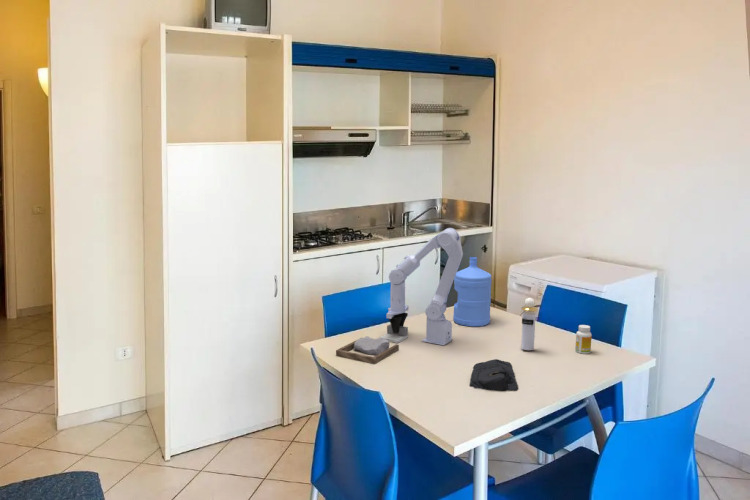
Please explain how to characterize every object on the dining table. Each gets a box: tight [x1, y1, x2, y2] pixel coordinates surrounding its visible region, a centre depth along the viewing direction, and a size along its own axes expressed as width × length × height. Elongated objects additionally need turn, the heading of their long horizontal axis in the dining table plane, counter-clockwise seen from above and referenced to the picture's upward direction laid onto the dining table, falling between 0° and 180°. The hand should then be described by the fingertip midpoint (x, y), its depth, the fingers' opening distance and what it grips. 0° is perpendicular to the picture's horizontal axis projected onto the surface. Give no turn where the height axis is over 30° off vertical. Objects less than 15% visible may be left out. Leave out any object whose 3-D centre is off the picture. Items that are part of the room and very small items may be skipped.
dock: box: [335, 337, 400, 365], centre depth 232 cm, size 16×17×2 cm
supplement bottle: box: [575, 324, 593, 355], centre depth 233 cm, size 5×5×10 cm
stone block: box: [353, 336, 390, 356], centre depth 236 cm, size 12×5×10 cm
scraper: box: [379, 323, 409, 344], centre depth 248 cm, size 8×8×4 cm
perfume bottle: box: [520, 297, 538, 351], centre depth 234 cm, size 6×6×20 cm
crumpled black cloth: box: [468, 358, 519, 392], centre depth 209 cm, size 15×22×5 cm
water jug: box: [452, 256, 493, 328], centre depth 269 cm, size 16×16×28 cm
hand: (397, 331), depth 251 cm, fingers closed on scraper, 2 cm apart
